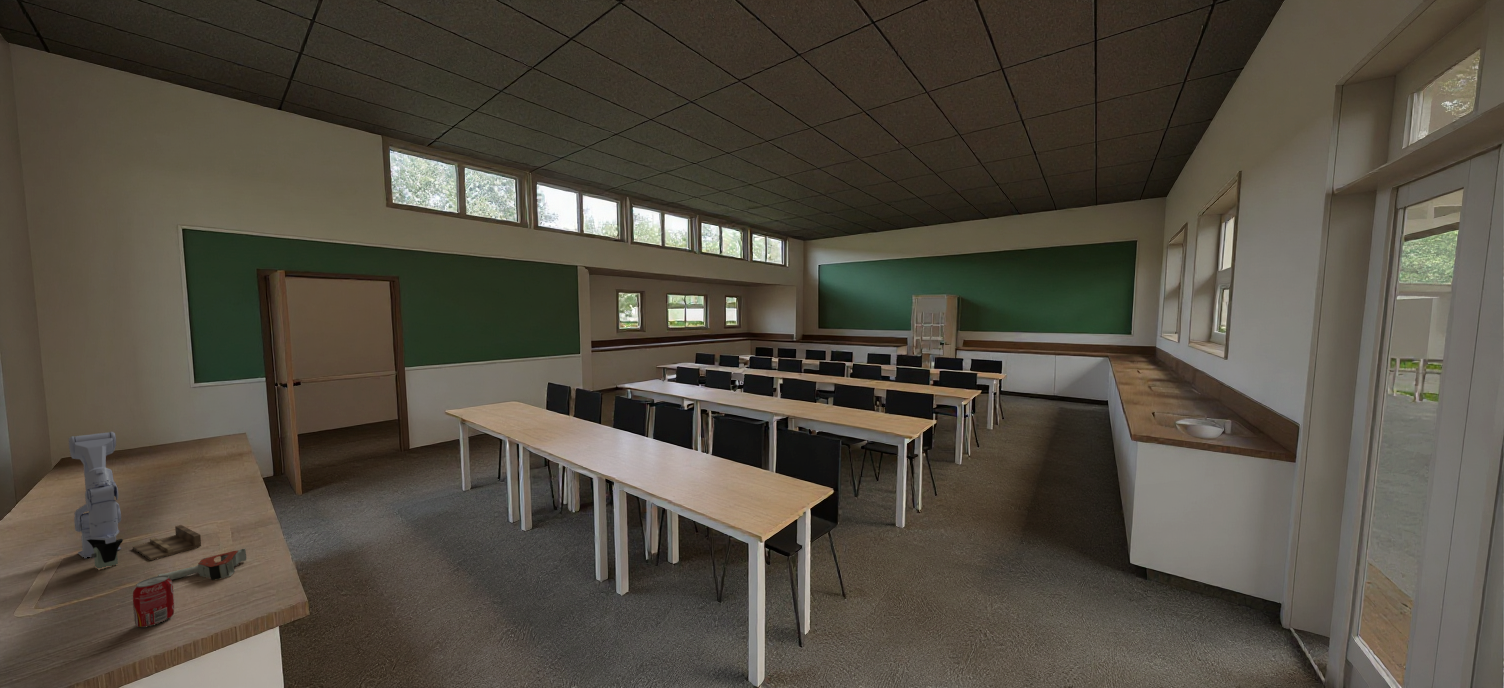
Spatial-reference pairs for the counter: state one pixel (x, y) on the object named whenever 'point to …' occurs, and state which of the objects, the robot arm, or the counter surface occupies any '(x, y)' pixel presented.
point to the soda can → (153, 601)
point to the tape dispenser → (212, 566)
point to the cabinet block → (99, 562)
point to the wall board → (170, 544)
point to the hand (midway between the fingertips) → (106, 559)
